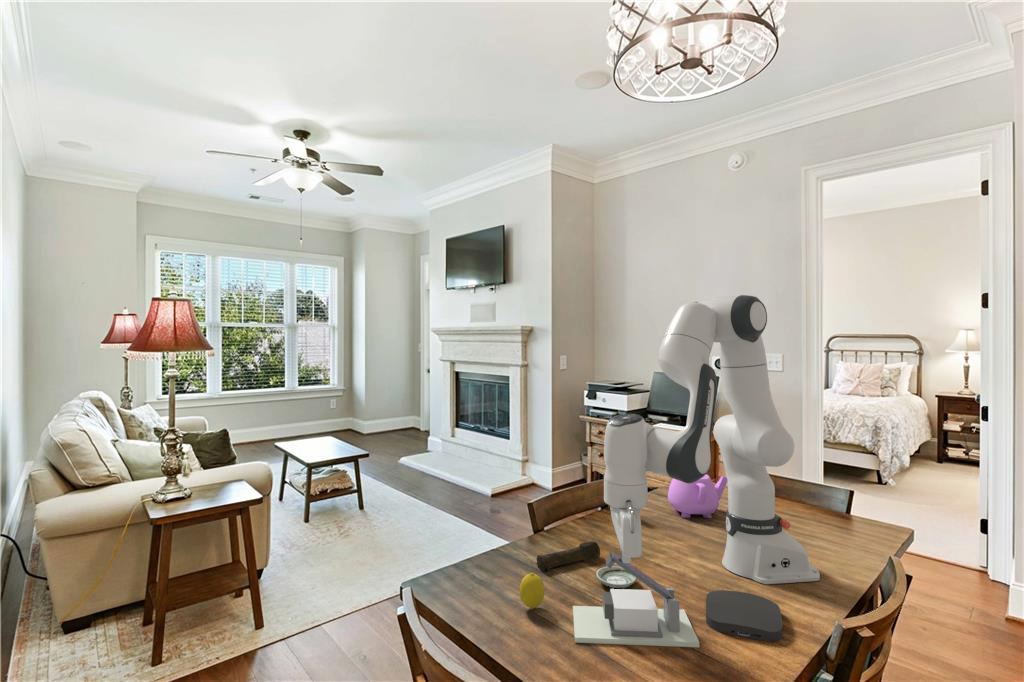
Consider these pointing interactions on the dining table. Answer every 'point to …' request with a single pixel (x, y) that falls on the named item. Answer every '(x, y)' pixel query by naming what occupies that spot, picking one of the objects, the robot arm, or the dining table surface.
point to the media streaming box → (744, 615)
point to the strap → (638, 574)
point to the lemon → (532, 590)
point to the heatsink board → (601, 632)
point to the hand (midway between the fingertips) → (625, 560)
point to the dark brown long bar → (569, 556)
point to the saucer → (615, 577)
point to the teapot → (696, 496)
